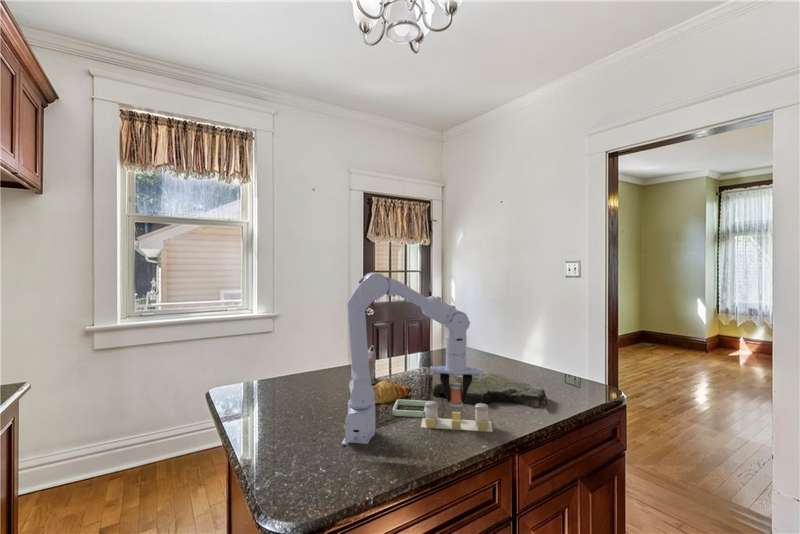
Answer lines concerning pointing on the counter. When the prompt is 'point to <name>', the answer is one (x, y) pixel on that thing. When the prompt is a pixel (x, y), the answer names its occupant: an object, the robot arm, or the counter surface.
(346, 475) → the counter surface
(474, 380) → the stone
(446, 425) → the fuse block
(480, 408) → the grey fuse
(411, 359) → the counter surface
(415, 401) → the tray
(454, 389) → the red fuse
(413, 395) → the counter surface
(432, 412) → the grey fuse
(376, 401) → the croissant
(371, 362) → the toy
